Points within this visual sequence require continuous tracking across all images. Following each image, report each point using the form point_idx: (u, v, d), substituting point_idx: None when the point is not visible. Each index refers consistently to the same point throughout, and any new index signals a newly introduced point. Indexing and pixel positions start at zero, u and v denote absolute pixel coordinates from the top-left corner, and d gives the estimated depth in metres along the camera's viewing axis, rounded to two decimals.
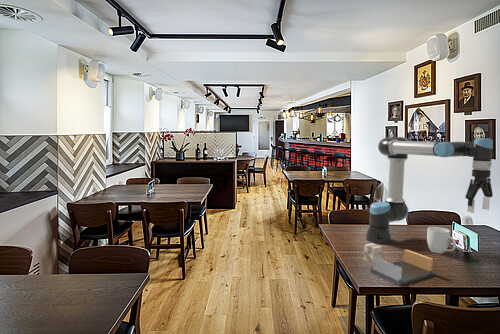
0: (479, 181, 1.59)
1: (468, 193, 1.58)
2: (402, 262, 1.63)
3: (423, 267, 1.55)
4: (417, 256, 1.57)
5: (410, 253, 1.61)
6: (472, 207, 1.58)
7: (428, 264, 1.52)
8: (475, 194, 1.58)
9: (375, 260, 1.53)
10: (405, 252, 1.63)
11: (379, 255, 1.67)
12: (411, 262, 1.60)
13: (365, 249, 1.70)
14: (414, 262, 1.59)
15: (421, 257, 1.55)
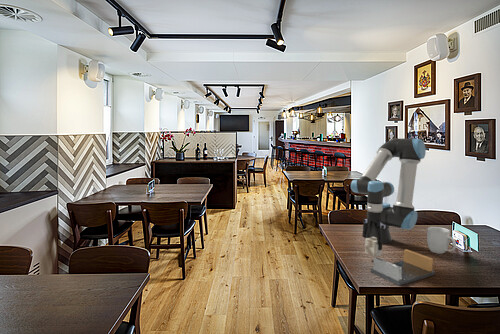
0: (368, 220, 1.70)
1: None
2: (402, 262, 1.63)
3: (423, 267, 1.55)
4: (417, 256, 1.57)
5: (410, 253, 1.61)
6: None
7: (428, 264, 1.52)
8: (367, 234, 1.71)
9: (375, 260, 1.53)
10: (405, 252, 1.63)
11: None
12: (411, 262, 1.60)
13: (366, 243, 1.70)
14: (414, 262, 1.59)
15: (421, 257, 1.55)
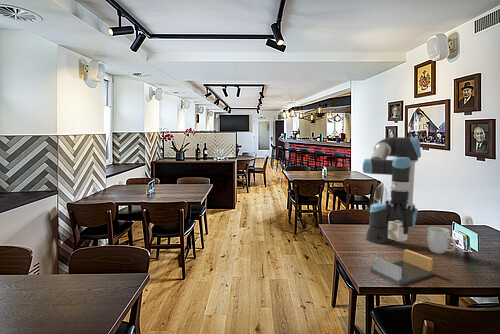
0: (392, 201, 1.52)
1: None
2: (402, 262, 1.63)
3: (423, 267, 1.55)
4: (417, 256, 1.57)
5: (410, 253, 1.61)
6: None
7: (428, 264, 1.52)
8: (390, 217, 1.53)
9: (375, 260, 1.53)
10: (405, 252, 1.63)
11: None
12: (411, 262, 1.60)
13: (389, 226, 1.52)
14: (414, 262, 1.59)
15: (421, 257, 1.55)
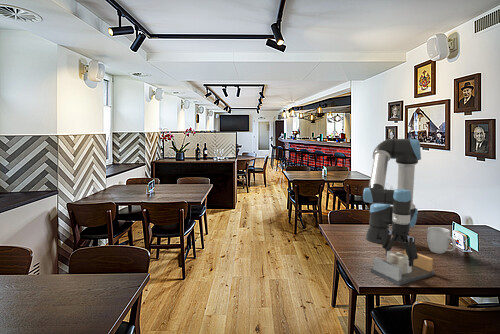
0: (393, 233, 1.53)
1: None
2: None
3: (423, 267, 1.55)
4: None
5: None
6: None
7: (428, 264, 1.52)
8: (389, 246, 1.55)
9: (375, 260, 1.53)
10: (405, 252, 1.63)
11: None
12: None
13: (390, 259, 1.52)
14: (414, 262, 1.59)
15: (421, 257, 1.55)
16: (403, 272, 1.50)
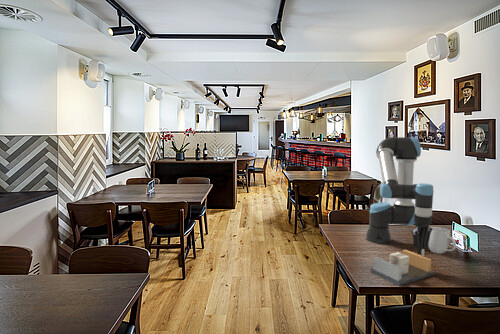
0: None
1: None
2: None
3: (422, 267, 1.54)
4: (416, 256, 1.57)
5: (409, 253, 1.60)
6: None
7: (427, 264, 1.52)
8: None
9: (375, 260, 1.53)
10: (404, 252, 1.63)
11: (406, 266, 1.50)
12: (410, 262, 1.60)
13: (390, 259, 1.52)
14: (413, 262, 1.58)
15: (420, 257, 1.55)
16: (403, 272, 1.50)
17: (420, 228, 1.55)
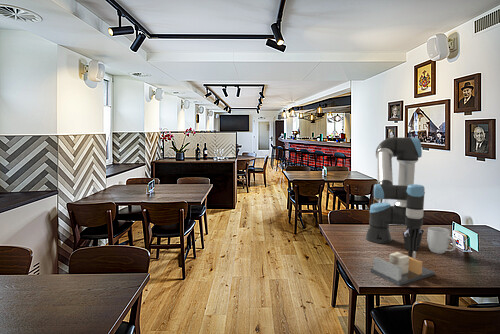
0: None
1: None
2: None
3: (413, 270, 1.51)
4: None
5: None
6: None
7: (418, 267, 1.49)
8: None
9: (375, 260, 1.53)
10: None
11: (406, 266, 1.50)
12: None
13: (390, 259, 1.52)
14: None
15: (411, 260, 1.52)
16: (403, 272, 1.50)
17: (411, 230, 1.52)
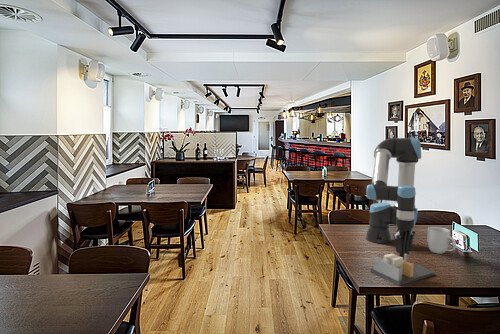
0: None
1: None
2: None
3: (404, 273, 1.48)
4: None
5: None
6: None
7: (409, 270, 1.46)
8: None
9: (375, 260, 1.53)
10: None
11: None
12: None
13: None
14: None
15: None
16: None
17: (402, 232, 1.49)
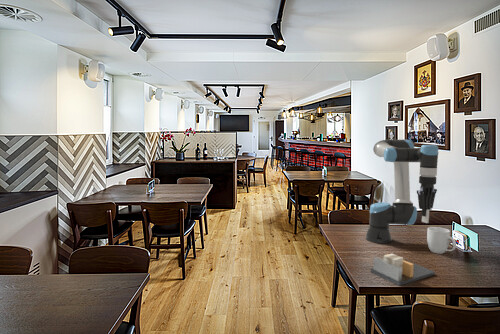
0: None
1: None
2: None
3: (404, 273, 1.48)
4: None
5: None
6: None
7: (409, 270, 1.46)
8: None
9: (375, 260, 1.53)
10: None
11: None
12: None
13: None
14: None
15: None
16: None
17: (425, 188, 1.57)
